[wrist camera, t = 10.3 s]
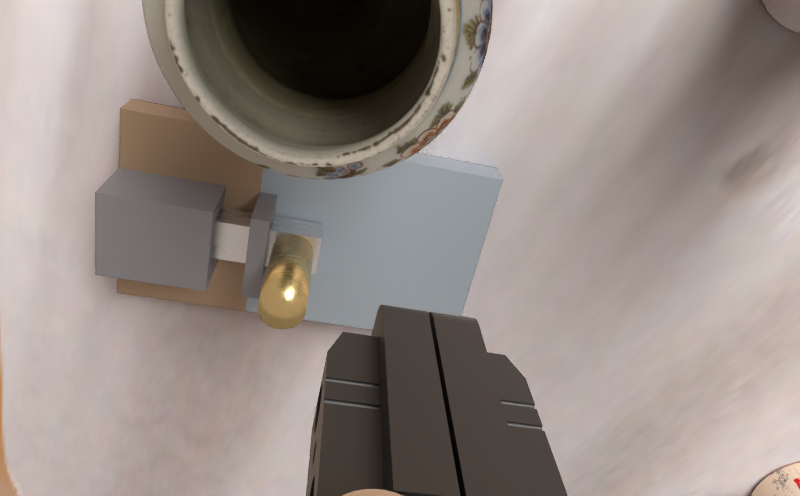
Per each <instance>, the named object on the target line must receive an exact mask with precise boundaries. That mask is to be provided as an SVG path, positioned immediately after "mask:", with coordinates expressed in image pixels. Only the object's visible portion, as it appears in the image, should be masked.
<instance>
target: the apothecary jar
mask: <svg viewBox="0 0 800 496" xmlns="http://www.w3.org/2000/svg"><path fill="white" fill-rule="evenodd" d="M142 5H143V13H144V19H145V24H146V28H147V33H148V37H149V40H150V44H151V47H152V50H153V53H154V55H155V58H156V60H157V62H158V65H159V67H160V69H161V71H162V73H163V75H164V77H165V79H166V80H167V82H168V84H169V86H170V87H171V89H172V90H173V92H174V94H175V95H176V97H177V98H178V100H179V101H180V103H181V104H182V105H183V107H184V108H185V109H186V110H187V112H188V113H189V114H190V115H191V116H192V117H193V119H194V120H195V121H196V122H197V123H198V124H199V125H200V126H201V127H202V128H203V129H204V130H205V131H206V132H207V133H208V134H209V135H211V136H212V137H213V138H214V139H215V140H217V141H218V142H219V143H221V144H222V145H223V146H225V147H226V148H227V149H229V150H230V151H232V152H234V153H235V154H237V155H238V156H240V157H242V158H244V159H246V160H248V161H250V162H252V163H254V164H256V165H258V166H261V167H263V168H266V169H269V170H272V171H275V172H278V173H281V174H285V175H289V176H294V177H300V178H307V179H319V180H336V179H346V178H353V177H358V176H363V175H367V174H371V173H374V172H377V171H380V170H383V169H386V168H388V167H391V166H393V165H395V164H397V163H399V162H401V161H403V160H405V159H407V158H409V157H410V156H412V155H414V154H415V153H417V152H418V151H420V150H421V149H422V148H424V147H425V146H426V145H428V144H429V143H430V142H431V141H432V140H434V139H435V138H436V137H437V136H438V135H439V134H440V133H441V132H442V131H443V130H444V129H445V127H446V126H447V125H448V124H449V123H450V122H451V121H452V119H453V118H454V117H455V116H456V114H457V113H458V111H459V110H460V109H461V107H462V106H463V104H464V103H465V101H466V99H467V98H468V96H469V94H470V92H471V90H472V88H473V86H474V84H475V82H476V80H477V78H478V75H479V73H480V70H481V68H482V65H483V62H484V59H485V56H486V52H487V48H488V43H489V39H490V34H491V23H492V7H493V6H492V0H142Z"/></svg>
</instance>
